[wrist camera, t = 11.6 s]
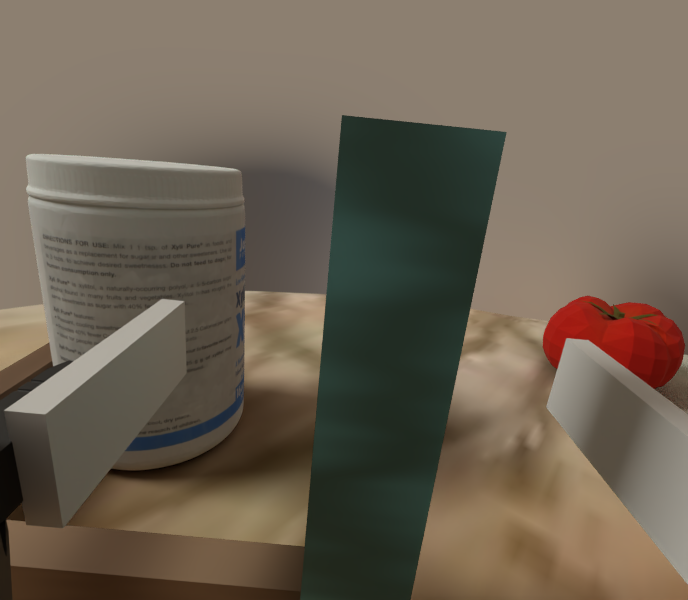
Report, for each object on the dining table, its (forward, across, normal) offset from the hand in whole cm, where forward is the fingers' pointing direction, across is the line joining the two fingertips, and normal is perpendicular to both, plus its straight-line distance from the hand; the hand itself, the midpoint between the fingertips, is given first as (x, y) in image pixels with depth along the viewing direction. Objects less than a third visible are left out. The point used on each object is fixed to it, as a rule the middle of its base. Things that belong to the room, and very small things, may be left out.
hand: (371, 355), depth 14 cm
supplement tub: (+8, -11, -10) cm, 17 cm away
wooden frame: (+5, -8, -9) cm, 13 cm away
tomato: (+20, +22, -10) cm, 31 cm away
